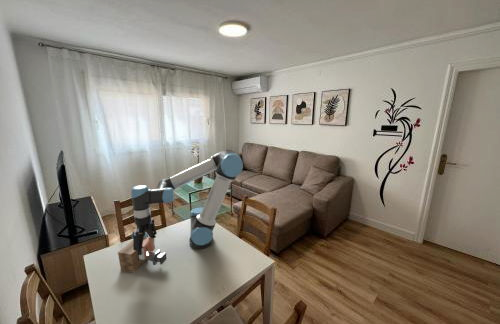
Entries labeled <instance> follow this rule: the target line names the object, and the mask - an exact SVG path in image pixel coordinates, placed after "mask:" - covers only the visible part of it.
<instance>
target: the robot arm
mask: <svg viewBox="0 0 500 324" xmlns="http://www.w3.org/2000/svg"><path fill="white" fill-rule="evenodd" d="M243 163H244V162H243V160H242V158H241V157H240V155H239V154H237V153H236V152H235V151H234V150H232V149H222V150H221V151H218V152H217V153H215V154H213V155H211V156H210V158H208V159H207V160H204V161H202V162H200V163H198V164H196V165H194V166H191V167H189V168H188V169H185V170H183V171H180V172H179V173H177V174H174V175H173V176H171V177H167V178H162V179H161V180H160V181H158V184H157V186H156V188H152V189H150V188H149V187H148V185H145V184H144V185H143V184H141V185H136V186H133V187H131V189H130V191H131V192H130V193H131V201H132V203H131V204H132V210H133V217H134V224H135V225H136V230H135V231H132V233H131V235H132V234H133V238H132V240H133V250H136V251H137V252H138V255H139V259H142V260H144V259H145V257H144V249H143V248H142V245H143V238H144V235H145V232H147V233H148V237H150V238H153V242H154V243H155V239H156V237H157V234H158V233H157V229H156V225H155V219H153V218H152V213H151V206H150V205H156V204H167V203H172V202H174V200H175V190H177V189H178V188H181V187H183V186H185V185H187V184H189V183H191V182H193V181H195V180H198V179H200V178H202V177H204V176H206V175H208V174H210V173H212V172H214V173H215V175H216V177H215V178H214V181H213V183H212V185H211V189H210V191H209V192H208V195H207V198H206V200H205V202H204V205H203V207H196V208H193V209H191V210H190V212H189V216H190V217H189V218H190V234H189V235H190V236H189V240H188V241H189V242H188V243H189V244H188V245H189V246H190V248H192V249H193V250H194V249H195V250H204V249H207V248H209V247H211V245H212V244H213V243H214V232H213V231H214V229H215V227H216V225H217V221H216V217H217V215H218V212H219V210H220V209H221V206H222V203H223V201H224V199H225V196H226V195H227V192H228V190H229V188H230V185H231V182H233V181H236V178H237V176H238V175H240V174H241V173H242V171H243V168H244V164H243ZM142 233H143V234H142ZM155 247H156V245H155V244H154V250H155V249H156V248H155Z"/></svg>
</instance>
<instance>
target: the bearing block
mask: <svg viewBox="0 0 500 324" xmlns="http://www.w3.org/2000/svg"><path fill="white" fill-rule="evenodd" d="M143 241H144V240H143ZM146 251H148V249H147V247H146ZM148 252H150V251H148ZM137 254H138V252H137V251H136V250H133V239H132V240H131V241H130V242H129V243H128V244H126V245H125V246H124V247H122V248H121V249H120V250H119V251H118V252H117V255H118V261H119V267H120V271H122V272H123V271H124V272H129V273H130V272H131V273H136V271H137V270H138V269H139V268H140V267H141V266H142V265H143V264H144V263H146V261H147V260H141V259H138V255H137Z"/></svg>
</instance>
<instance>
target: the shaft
mask: <svg viewBox="0 0 500 324" xmlns="http://www.w3.org/2000/svg"><path fill="white" fill-rule="evenodd" d="M146 254H147V258H146V259H144V260H146V261H147V262H152V265H153V266H155V265H157V263H159V265H163V264H164V263H165V262H166V261H167V252H165V251H163V253H161V250H160V249H157V250H156V251H155V252H154V251H149V252H148V251H146ZM137 255H138V254H137ZM138 259H139V255H138ZM141 260H142V259H141Z"/></svg>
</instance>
